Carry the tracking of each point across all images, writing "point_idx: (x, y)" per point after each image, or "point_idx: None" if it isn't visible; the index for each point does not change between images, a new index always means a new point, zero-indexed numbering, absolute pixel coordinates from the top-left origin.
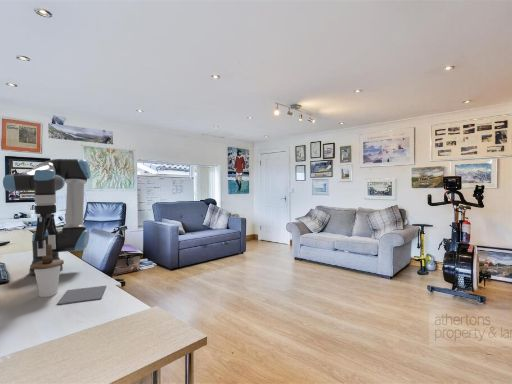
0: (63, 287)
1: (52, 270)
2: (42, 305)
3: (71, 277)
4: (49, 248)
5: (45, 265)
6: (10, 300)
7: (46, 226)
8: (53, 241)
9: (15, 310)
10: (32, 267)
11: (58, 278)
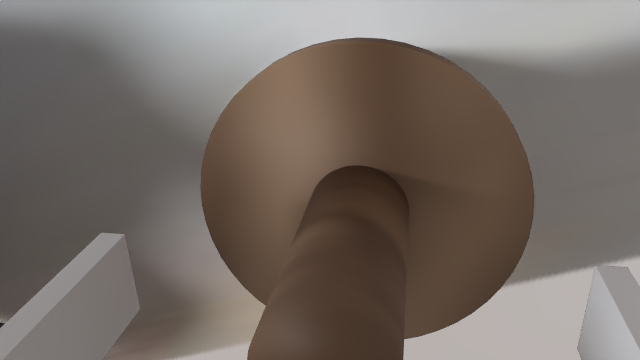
0: (260, 32)
1: None
2: (630, 76)
3: (24, 35)
4: (382, 296)
5: (482, 205)
6: None
7: None
8: (55, 330)
9: (630, 213)
10: (472, 307)
11: None
